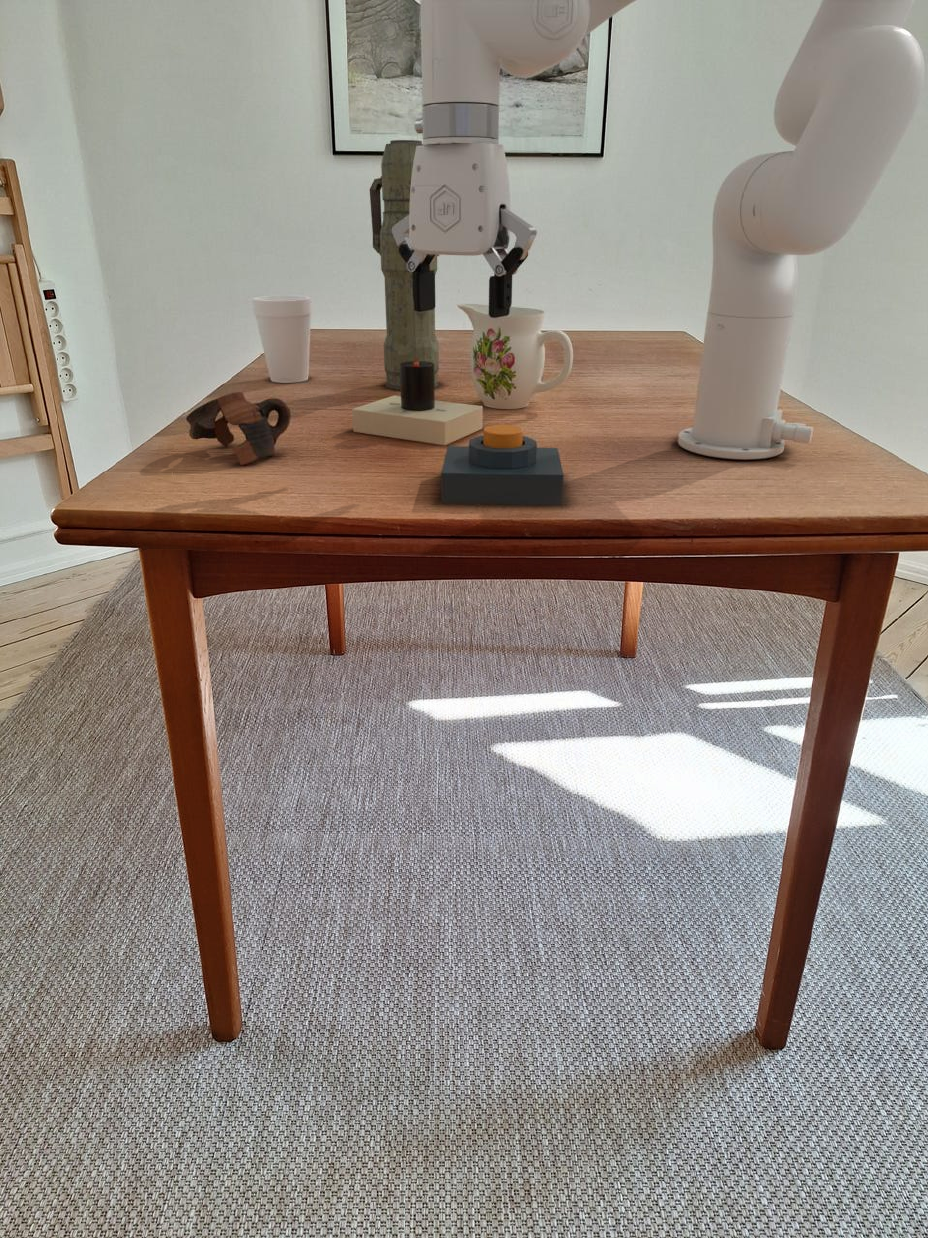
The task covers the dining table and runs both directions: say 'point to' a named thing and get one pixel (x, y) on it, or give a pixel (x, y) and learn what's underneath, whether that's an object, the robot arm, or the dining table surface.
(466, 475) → the button base
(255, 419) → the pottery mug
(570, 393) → the dining table surface
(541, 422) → the dining table surface
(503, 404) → the pitcher
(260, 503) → the dining table surface
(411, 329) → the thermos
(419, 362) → the dial
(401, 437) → the dial panel
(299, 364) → the foam cup
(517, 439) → the release button
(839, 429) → the dining table surface
